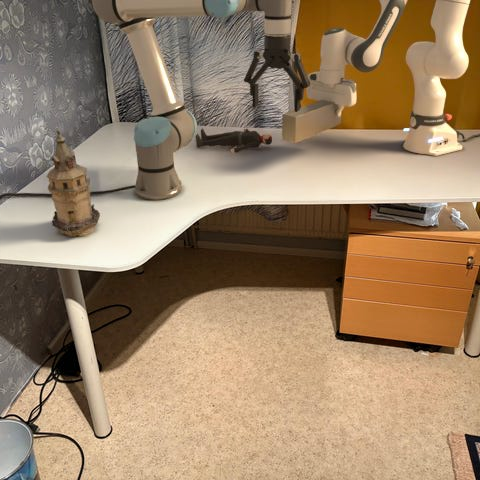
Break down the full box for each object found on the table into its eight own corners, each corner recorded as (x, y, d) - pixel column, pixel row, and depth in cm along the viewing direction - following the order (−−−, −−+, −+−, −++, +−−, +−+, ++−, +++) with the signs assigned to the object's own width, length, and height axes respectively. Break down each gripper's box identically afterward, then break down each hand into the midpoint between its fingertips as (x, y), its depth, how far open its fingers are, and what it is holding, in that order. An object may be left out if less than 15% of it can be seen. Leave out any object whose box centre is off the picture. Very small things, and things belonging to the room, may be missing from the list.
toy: (206, 122, 226) (276, 122, 220) (207, 136, 229) (277, 136, 223) (189, 142, 204) (266, 142, 198) (190, 157, 207) (267, 158, 201)
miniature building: (80, 214, 164) (63, 117, 149) (111, 225, 157) (96, 125, 142) (44, 231, 154) (22, 130, 140) (75, 244, 147) (55, 139, 133)
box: (295, 143, 185) (295, 117, 180) (282, 139, 189) (282, 114, 184) (340, 124, 202) (342, 99, 197) (327, 121, 206) (329, 97, 201)
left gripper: (323, 34, 151) (319, 109, 161) (243, 30, 160) (243, 101, 171) (315, 38, 145) (311, 116, 155) (232, 34, 154) (233, 107, 165)
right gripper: (361, 78, 189) (358, 117, 196) (314, 71, 201) (313, 107, 208) (351, 82, 185) (348, 121, 192) (304, 74, 197) (303, 111, 204)
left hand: (276, 108), depth 163 cm, fingers open, 13 cm apart
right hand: (329, 114), depth 200 cm, fingers closed on box, 6 cm apart
